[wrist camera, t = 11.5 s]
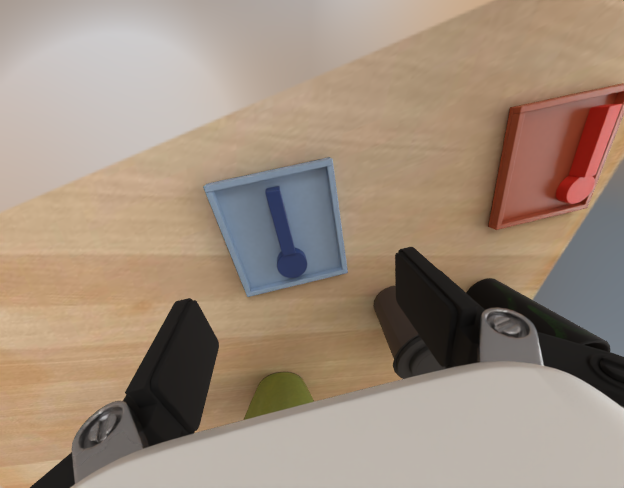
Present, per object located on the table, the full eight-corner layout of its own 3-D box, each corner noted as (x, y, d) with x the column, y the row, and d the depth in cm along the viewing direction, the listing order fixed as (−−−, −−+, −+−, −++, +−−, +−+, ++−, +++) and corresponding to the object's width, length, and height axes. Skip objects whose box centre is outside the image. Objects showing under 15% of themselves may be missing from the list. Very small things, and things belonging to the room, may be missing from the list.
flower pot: (221, 411, 38) (190, 581, 24) (244, 348, 32) (222, 518, 18) (307, 416, 42) (324, 562, 28) (340, 360, 37) (382, 507, 22)
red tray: (510, 107, 23) (521, 106, 22) (620, 83, 24) (636, 81, 23) (488, 226, 29) (496, 230, 28) (576, 205, 30) (587, 208, 29)
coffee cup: (430, 287, 33) (489, 346, 24) (398, 328, 35) (440, 395, 26) (384, 269, 30) (431, 328, 21) (353, 315, 33) (383, 385, 24)
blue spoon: (255, 190, 23) (254, 194, 21) (289, 183, 23) (290, 186, 22) (280, 275, 28) (281, 283, 26) (308, 268, 28) (310, 276, 26)
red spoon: (581, 109, 24) (600, 108, 23) (611, 103, 24) (632, 101, 23) (552, 203, 29) (566, 207, 27) (577, 197, 29) (592, 201, 28)
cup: (477, 320, 37) (558, 396, 27) (447, 303, 35) (525, 381, 24) (516, 284, 35) (622, 353, 24) (487, 263, 32) (593, 330, 22)
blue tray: (206, 183, 22) (202, 186, 21) (329, 157, 23) (332, 158, 22) (248, 291, 28) (247, 297, 27) (345, 267, 29) (347, 272, 28)
